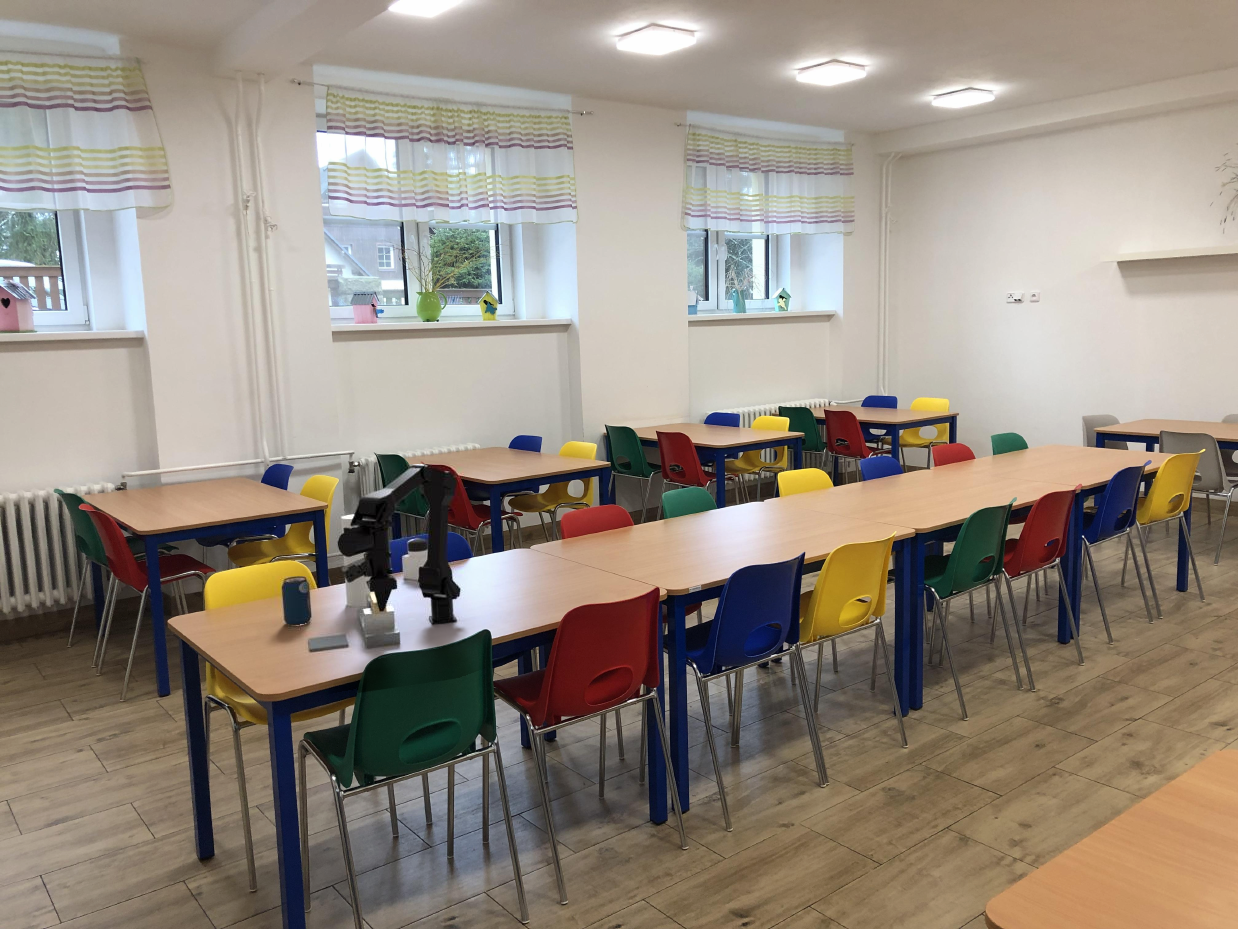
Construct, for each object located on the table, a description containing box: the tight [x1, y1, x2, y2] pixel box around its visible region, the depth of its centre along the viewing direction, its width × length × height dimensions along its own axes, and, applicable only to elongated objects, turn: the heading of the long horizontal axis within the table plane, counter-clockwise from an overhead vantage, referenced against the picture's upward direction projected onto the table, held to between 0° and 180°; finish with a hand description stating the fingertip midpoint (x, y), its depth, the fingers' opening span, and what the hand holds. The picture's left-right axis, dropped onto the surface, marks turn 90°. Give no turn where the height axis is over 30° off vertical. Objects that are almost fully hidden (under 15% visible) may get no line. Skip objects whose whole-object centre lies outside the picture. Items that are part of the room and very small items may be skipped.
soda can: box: [281, 575, 313, 626], centre depth 253 cm, size 7×7×12 cm
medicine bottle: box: [401, 538, 428, 581], centre depth 299 cm, size 7×7×12 cm
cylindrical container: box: [340, 513, 373, 608], centre depth 270 cm, size 7×7×25 cm
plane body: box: [356, 594, 401, 649], centre depth 244 cm, size 26×8×7 cm, turn 20°
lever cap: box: [363, 605, 396, 630], centre depth 239 cm, size 5×7×4 cm
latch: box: [370, 592, 387, 615], centre depth 238 cm, size 10×3×3 cm, turn 20°
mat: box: [307, 633, 350, 652], centre depth 235 cm, size 9×9×1 cm
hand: (381, 611), depth 231 cm, fingers closed
